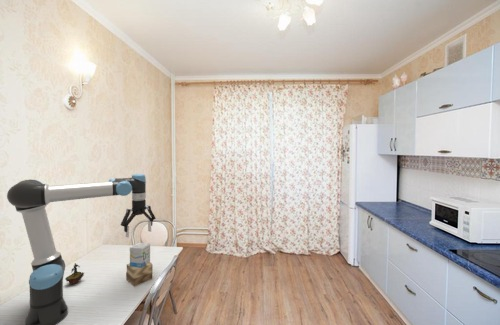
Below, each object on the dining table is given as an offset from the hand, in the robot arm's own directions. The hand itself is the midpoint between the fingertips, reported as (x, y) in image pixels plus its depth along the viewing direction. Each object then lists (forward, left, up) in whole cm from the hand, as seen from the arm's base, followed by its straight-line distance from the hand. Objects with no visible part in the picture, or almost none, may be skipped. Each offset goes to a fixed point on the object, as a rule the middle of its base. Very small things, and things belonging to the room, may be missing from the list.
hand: (138, 234), depth 144 cm
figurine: (-27, +24, -29) cm, 46 cm away
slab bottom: (0, 0, -29) cm, 29 cm away
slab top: (0, 0, -24) cm, 24 cm away
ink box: (+1, 0, -19) cm, 19 cm away
